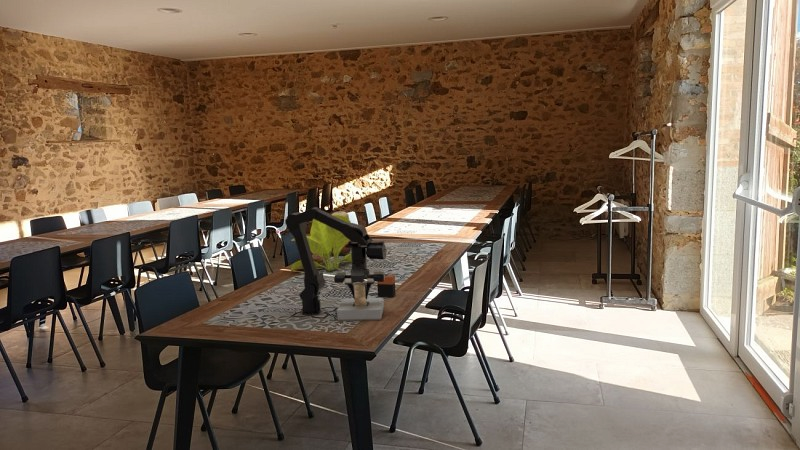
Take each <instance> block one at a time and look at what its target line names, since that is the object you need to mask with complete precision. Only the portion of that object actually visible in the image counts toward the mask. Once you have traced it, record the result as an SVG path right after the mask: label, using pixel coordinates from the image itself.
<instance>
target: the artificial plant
mask: <svg viewBox="0 0 800 450" xmlns="http://www.w3.org/2000/svg"><path fill="white" fill-rule="evenodd" d="M333 216H335V217H337V218H339V219H341V220H343V221H345V222H349V223H352V222H351V220H350V218H349V219H348V218H347V217H345V216H341V215H333ZM306 236H307V240H308V243H309V247H310V250H311V253H312V254H314V255H317V256H319V257H320V258H321V259H322V261H323V263H324V265H325V266H324V265H322V264H319V263H318V262H317V261H315V260H314V264H315V267H316V268H318V267H321V268H322V267H323V268H325V269H326V270H327V271H328V272H332V271H333V272H334V270H336V271H337V270H339V265H340V263H341V262H348V263H351V252H349V253H346V254H345V256H343V258H339V256H340V255H339V252H340V251H341V249H342V248H343V247H344V245H345V244H346V243H347V242H348V241H349V239H348V238H346V237H345V236H344V235H343V234H342V233H341V232H340V231H338V230H336V229H333V228H331V227H329V226H327V225H325V224H323V223H321V222H319V221H317V220H315V219H312V223H311V228H310V235H306ZM290 241H292V242H295V239H294V238H293V239H291V240H290ZM332 247H333V248H334V249H333V252H332ZM332 253H333V258H332V262H331V254H332ZM324 258H325V259H324ZM338 258H339V259H338ZM299 268H303V266H302V263H301V260H297V261H295V262H294V263H292V266H291V269H290V272H293V271H295V270H297V269H299Z"/></svg>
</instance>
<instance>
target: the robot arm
mask: <svg viewBox="0 0 800 450" xmlns="http://www.w3.org/2000/svg"><path fill="white" fill-rule="evenodd" d="M331 214H332V213H329V212H326V211H324V210H322V209H320V208H319V207H317V206H316V207H315V206H314V207H312V208H310V209H308V210H306V211H304V212H299V211H298V212H294V213H290V214H288V215H287V216H286V218H285V221H284V222H285V226H286V228H287V230H288V232H289V233H290V235H291V236H292V238H293V239H295V241H294V242H295V244H296V249H297V251H298V255H299V259H300V261H301V263H302V266H303V267H302V268H303V273H304V275H303V285H304V289H302V291H301V292H300V293H299V294H298V296H299V298H300V300H301V307H302V312H301V315H319V314H320V312H321V310H322V299H320V295H321V292H322V291H323V290H324V288H325V284H326V280H325V278H324V273H323V272H322V271H321V272H319V271H318V269H317V267H315V264H314V261H315V260H314V258H313V253H312V252H311V250H310V247H309V243H308V240H307V236H308V235H307V227H308V226H307V225H308V224H307V222H308V221H309V222H310V220H313V219H315V220H317V221H319V222H321V223H323V224H325V225H327V226H329V227H331V228H333V229H336V230H338V231H340V232H341V233H342V234H343V235H344V236H345V237H346V238H348V239H349V240H350V241H349V243H348V244H347V245H346V246H345V247H346V248H351V251H350V253H351V262H350V263H351V268H350V274H347V272H345V271H344V272H336V274H335V275H334V277H333V280H334V281H333V283H335V284H341V283H344V285H346V286H347V287H348V288H349V289H350V292H351V294H352V297H353V299H354V300H355V294H354V285H355V283H366V299H367V298H368V297H369V293H370V289H371V286H372V285H375V283H377V282H384V280H385V274H386V272H384V271H374V272H373V273H370V268H368V267H367V266H368V264H367V263H368V262H367V261H368V260H367V258H368V259H369V260H386V258H387V254H388V253H387V250H388V249H387V247H386V244H385V240H384V241H383V240H379V241H373V239H372V237H370V235H369V233H368V232H367V228H366V226H364V225H361V224H358V223H354V222H351V223H349V222H345V221H343V220H341V219H339V218H337V217H335V216H333V215H331ZM365 280H366V282H365Z"/></svg>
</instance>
